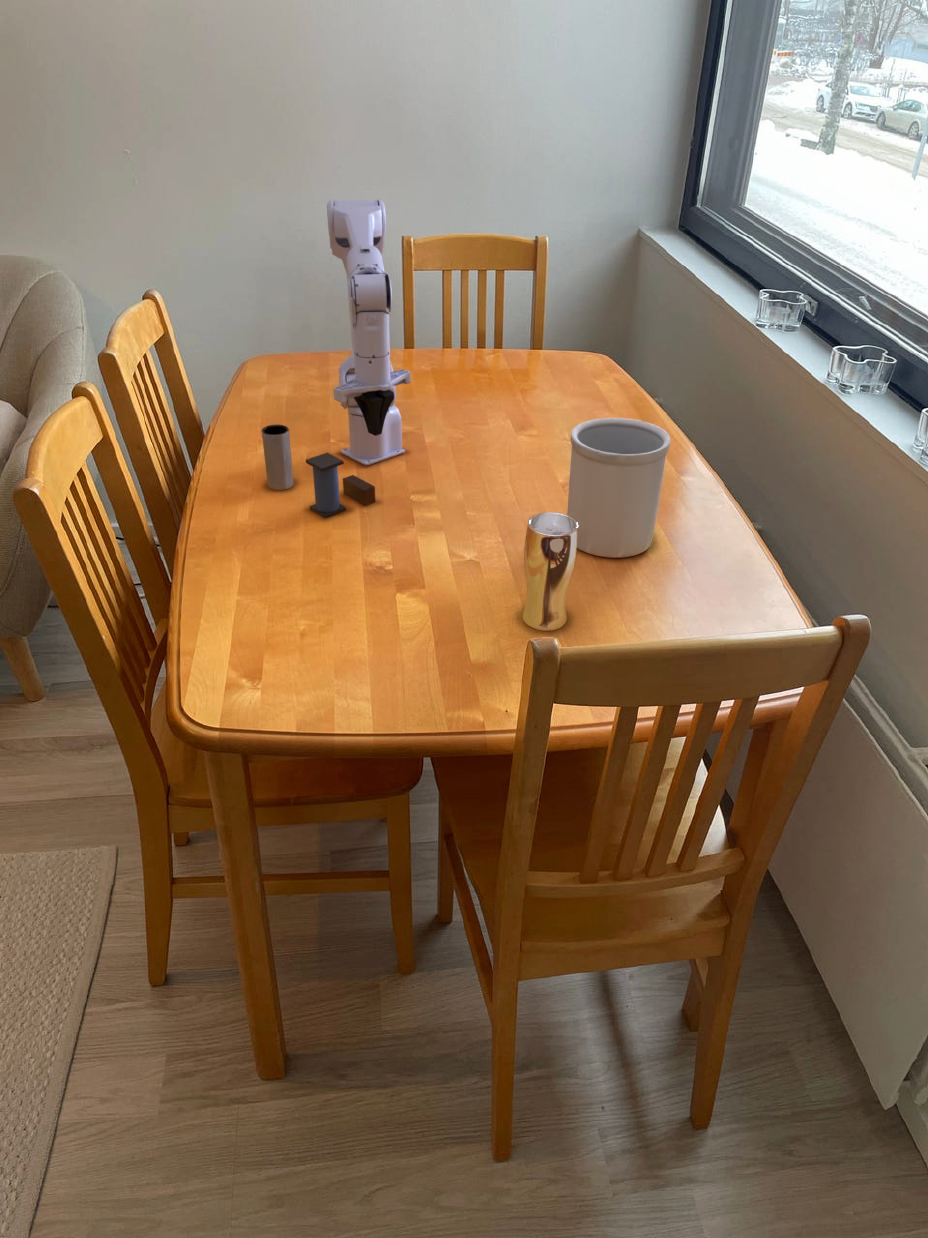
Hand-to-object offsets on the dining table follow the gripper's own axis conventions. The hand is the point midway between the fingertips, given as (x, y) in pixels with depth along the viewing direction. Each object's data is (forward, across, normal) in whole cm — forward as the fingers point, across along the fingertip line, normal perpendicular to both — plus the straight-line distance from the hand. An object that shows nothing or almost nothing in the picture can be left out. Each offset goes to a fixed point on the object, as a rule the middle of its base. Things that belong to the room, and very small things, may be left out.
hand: (374, 433), depth 153 cm
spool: (+6, -11, -1) cm, 12 cm away
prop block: (+10, -4, 0) cm, 11 cm away
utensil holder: (+11, +17, -38) cm, 43 cm away
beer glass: (+11, -8, -46) cm, 48 cm away
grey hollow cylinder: (+10, -12, +12) cm, 20 cm away
